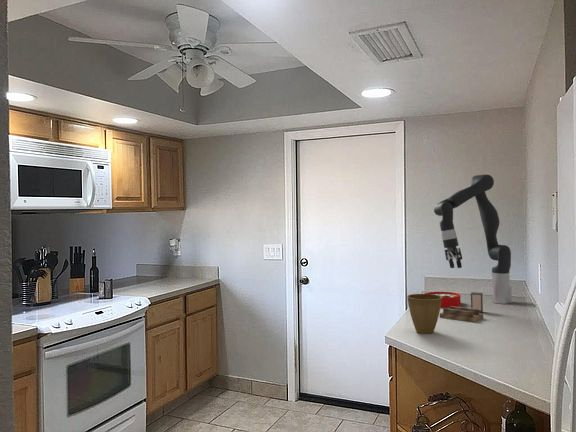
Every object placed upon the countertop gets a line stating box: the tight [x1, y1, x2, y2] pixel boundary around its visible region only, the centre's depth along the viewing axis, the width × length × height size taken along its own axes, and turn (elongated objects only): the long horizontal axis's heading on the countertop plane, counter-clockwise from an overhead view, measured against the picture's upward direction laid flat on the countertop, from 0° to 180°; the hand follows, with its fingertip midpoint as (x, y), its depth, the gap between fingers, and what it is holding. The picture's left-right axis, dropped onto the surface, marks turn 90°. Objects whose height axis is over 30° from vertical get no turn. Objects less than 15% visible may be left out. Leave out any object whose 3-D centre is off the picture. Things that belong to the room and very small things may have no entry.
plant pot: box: [407, 293, 442, 335], centre depth 212 cm, size 15×15×16 cm
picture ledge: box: [439, 306, 484, 323], centre depth 236 cm, size 18×10×4 cm, turn 44°
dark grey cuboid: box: [470, 292, 484, 314], centre depth 249 cm, size 6×4×10 cm, turn 64°
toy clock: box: [424, 291, 462, 309], centre depth 272 cm, size 20×6×20 cm
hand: (456, 267), depth 254 cm, fingers open, 8 cm apart
